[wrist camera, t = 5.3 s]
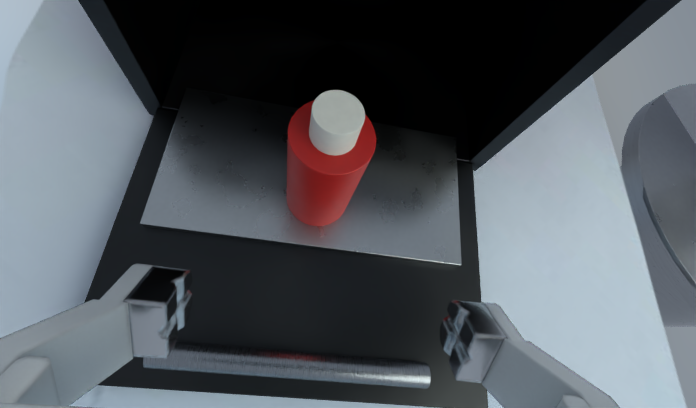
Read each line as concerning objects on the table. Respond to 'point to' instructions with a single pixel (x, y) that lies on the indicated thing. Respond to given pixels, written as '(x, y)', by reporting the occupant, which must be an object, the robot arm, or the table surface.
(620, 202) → the table surface
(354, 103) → the ketchup bottle
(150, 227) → the oven
